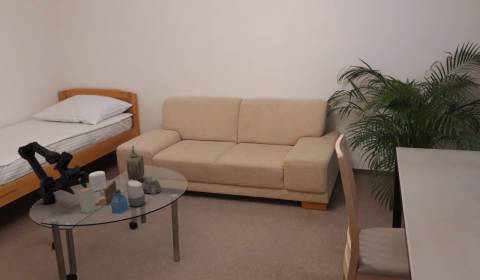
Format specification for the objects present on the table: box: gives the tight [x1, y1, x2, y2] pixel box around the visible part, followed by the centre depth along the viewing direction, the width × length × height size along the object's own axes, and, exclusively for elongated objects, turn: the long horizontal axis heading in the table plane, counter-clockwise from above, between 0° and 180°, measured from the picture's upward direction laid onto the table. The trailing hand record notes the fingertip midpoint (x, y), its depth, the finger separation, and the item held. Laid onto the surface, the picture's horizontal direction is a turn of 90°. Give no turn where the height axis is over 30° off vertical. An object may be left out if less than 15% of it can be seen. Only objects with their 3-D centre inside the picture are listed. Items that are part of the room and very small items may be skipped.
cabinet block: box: [77, 187, 97, 214], centre depth 241 cm, size 6×6×12 cm
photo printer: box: [88, 170, 108, 193], centre depth 273 cm, size 10×4×12 cm, turn 124°
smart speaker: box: [127, 179, 146, 208], centre depth 245 cm, size 10×9×14 cm
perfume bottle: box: [110, 188, 129, 214], centre depth 238 cm, size 6×6×12 cm
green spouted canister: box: [125, 145, 145, 181], centre depth 282 cm, size 14×9×25 cm, turn 6°
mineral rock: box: [141, 176, 162, 195], centre depth 264 cm, size 13×11×10 cm
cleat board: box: [95, 180, 117, 206], centre depth 254 cm, size 10×14×10 cm
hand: (80, 191), depth 241 cm, fingers open, 9 cm apart
